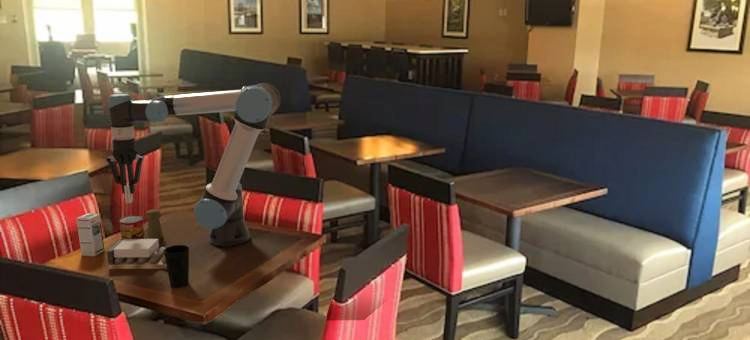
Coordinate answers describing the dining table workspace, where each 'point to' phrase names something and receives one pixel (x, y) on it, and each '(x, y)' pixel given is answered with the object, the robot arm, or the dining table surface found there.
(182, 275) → the cup
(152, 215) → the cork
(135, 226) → the canned food
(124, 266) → the roller bed
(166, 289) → the dining table surface
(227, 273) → the dining table surface
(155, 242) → the slab
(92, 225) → the syrup box
